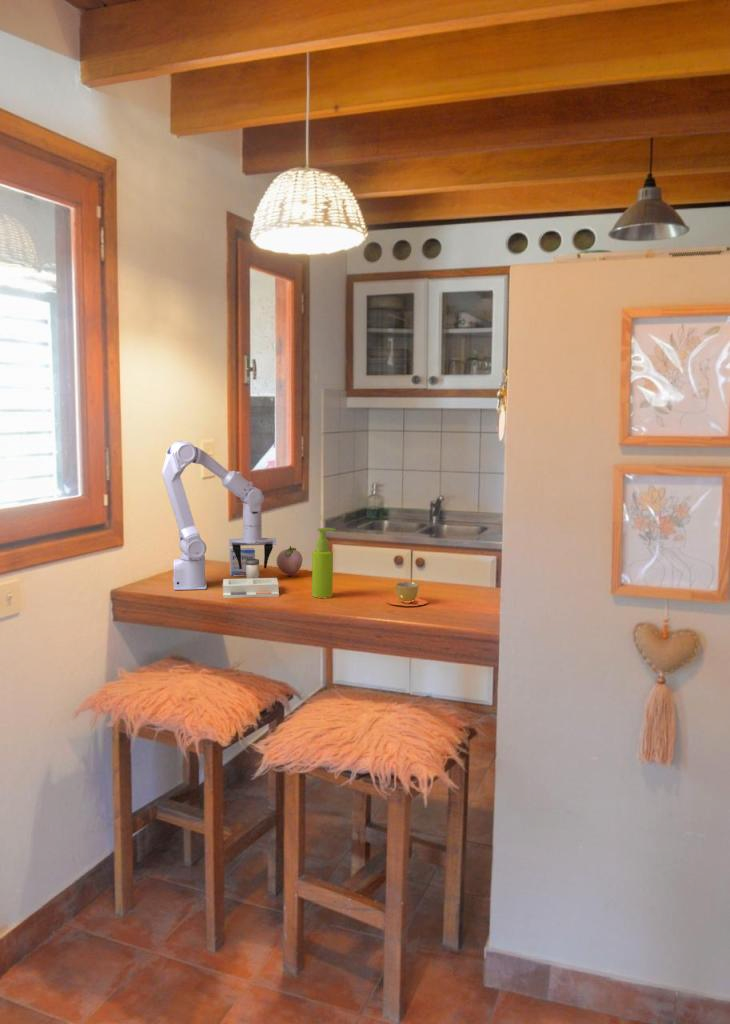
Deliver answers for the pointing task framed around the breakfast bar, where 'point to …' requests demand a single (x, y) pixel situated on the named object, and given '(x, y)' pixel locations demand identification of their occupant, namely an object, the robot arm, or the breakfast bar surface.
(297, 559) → the decorative fruit
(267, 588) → the socket block
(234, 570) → the medicine box
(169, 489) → the robot arm
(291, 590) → the breakfast bar surface
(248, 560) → the white pill bottle
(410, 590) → the cup
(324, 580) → the soap dispenser
